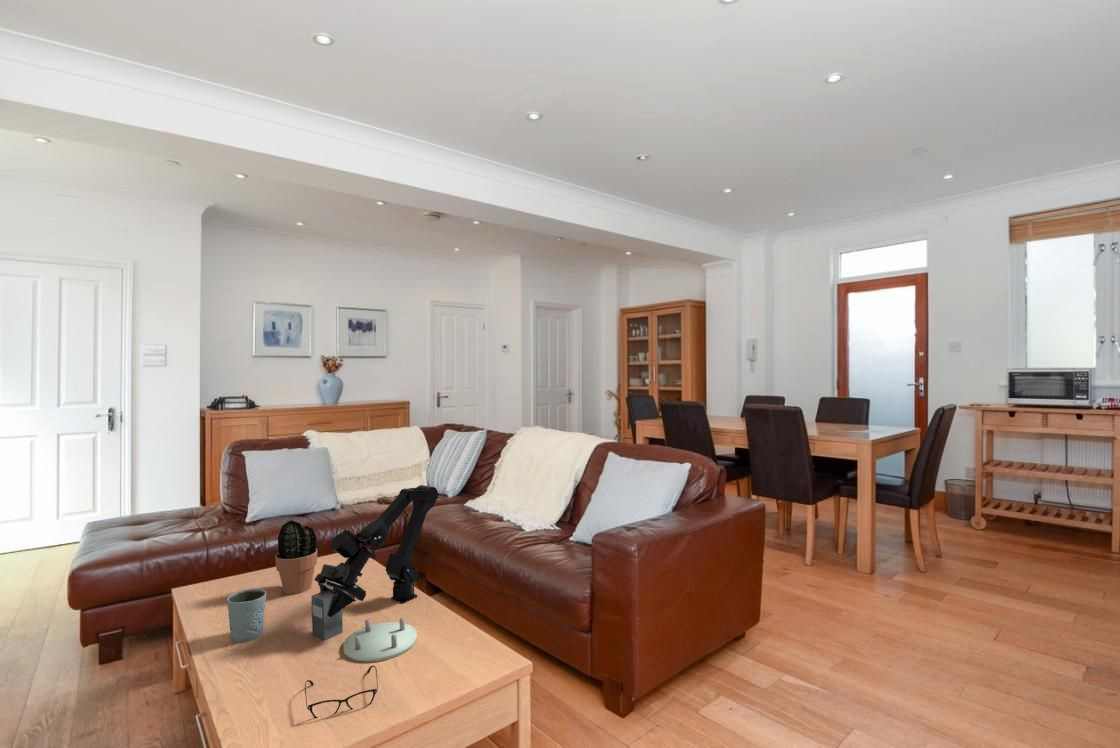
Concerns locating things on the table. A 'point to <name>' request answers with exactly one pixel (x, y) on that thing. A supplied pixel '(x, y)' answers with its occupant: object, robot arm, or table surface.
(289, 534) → the potted plant
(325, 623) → the block
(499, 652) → the table surface
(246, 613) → the embossed blue-grey cup
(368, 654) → the pin plate
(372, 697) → the eyeglasses
